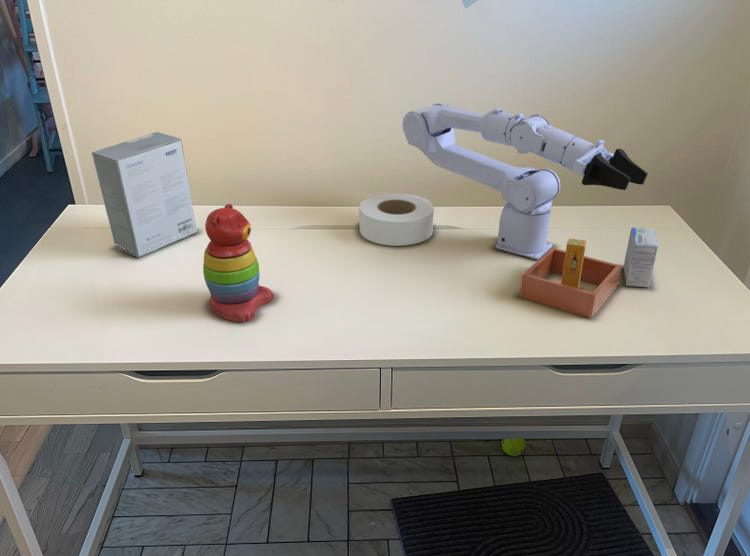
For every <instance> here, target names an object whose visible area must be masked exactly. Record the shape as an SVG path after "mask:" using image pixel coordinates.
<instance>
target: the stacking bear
mask: <svg viewBox="0 0 750 556" xmlns="http://www.w3.org/2000/svg"><path fill="white" fill-rule="evenodd" d="M204 228H205V233H206V236H207V237H208V239H209V242H208V244H207V245H206V248H205V250H204V252H203V253H204V254H203V264H202V272H203V279H204V282H205V285H206V288H207V290H208V291H209V294H210V295H211V296H210V298H209V308H210V310H211V311H212V312H213V313H214V314H216V315H217V316H219V317H221V318H222V319H225V320H229V321H232V322H238V323H245V322H249V321H251V320H253V319H254V318H255V317H256V311H257V309H259V307H261V306H263V305H266V304H269V303H271V302H272V301H273V300H274V297H275V296H274V293H273V291H272V290H271V289H270V288H268V287H266V286H262V285H260V284H259V283H260V264H259V261H258V258H257V255H256V252H255V250H254V248H253V245H252V243H251V241H250V240H249V237H250V235H251V232H252V226H251V223H250V221H249V220H248V219H247V217H245V215H244V214H242V212H241V211H239V210H238V209H236V208H234V206H233V205H232V203H227V204H225V205H224V207H220V208H216V209H214V210H213V211H211V212H210V213H209V214H208V216H207V217H206V219H205V223H204Z"/></svg>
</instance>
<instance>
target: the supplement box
mask: <svg viewBox="0 0 750 556" xmlns="http://www.w3.org/2000/svg"><path fill="white" fill-rule="evenodd" d="M586 245H587V240H586V239H577V238H569V237H568V241H567V243H566V246H565V247H566V248H565V251H566V253H565V260H564V267H563V273H562V275H561V281H560V284H564V285H567V286H571V287H574V288H578V289H580V284H581V279H580V278H581V272H582V265H583V259H584V256H585V252H586Z"/></svg>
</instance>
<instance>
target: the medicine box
mask: <svg viewBox="0 0 750 556" xmlns="http://www.w3.org/2000/svg"><path fill="white" fill-rule="evenodd" d="M628 237H629V238H628V243H627V246H626V247H627V248H626V252H625V257H624V262H623V273H624V280H625V286H628V287H637V288H647V289H648V288H650V286H651V282H652V277H653V273H654V269H655V264H656V261H657V256H658V255H657V254H658V250H659V243H658V239H657V234H656V230H655V229H654V228H647V227H631V228H630V233H629V236H628Z"/></svg>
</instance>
